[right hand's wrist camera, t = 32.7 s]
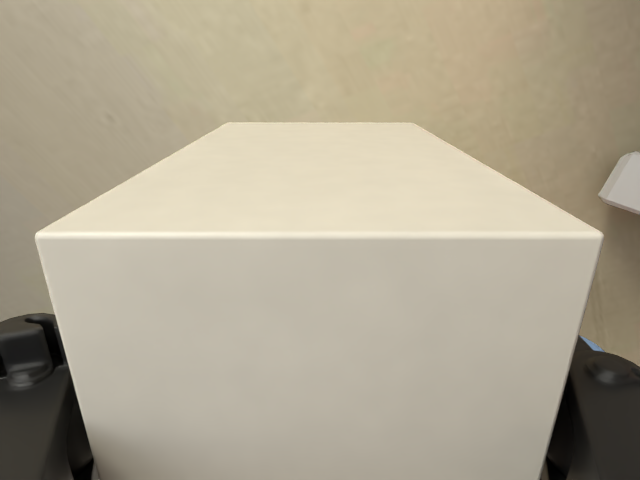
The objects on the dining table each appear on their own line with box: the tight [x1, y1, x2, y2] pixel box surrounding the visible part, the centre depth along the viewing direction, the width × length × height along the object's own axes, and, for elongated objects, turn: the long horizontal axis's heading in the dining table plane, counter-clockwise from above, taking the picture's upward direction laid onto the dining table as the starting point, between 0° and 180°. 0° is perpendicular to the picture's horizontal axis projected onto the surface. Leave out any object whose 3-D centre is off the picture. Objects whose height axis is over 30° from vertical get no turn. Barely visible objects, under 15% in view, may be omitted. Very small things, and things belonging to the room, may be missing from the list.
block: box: [35, 122, 604, 480], centre depth 12 cm, size 8×7×11 cm
